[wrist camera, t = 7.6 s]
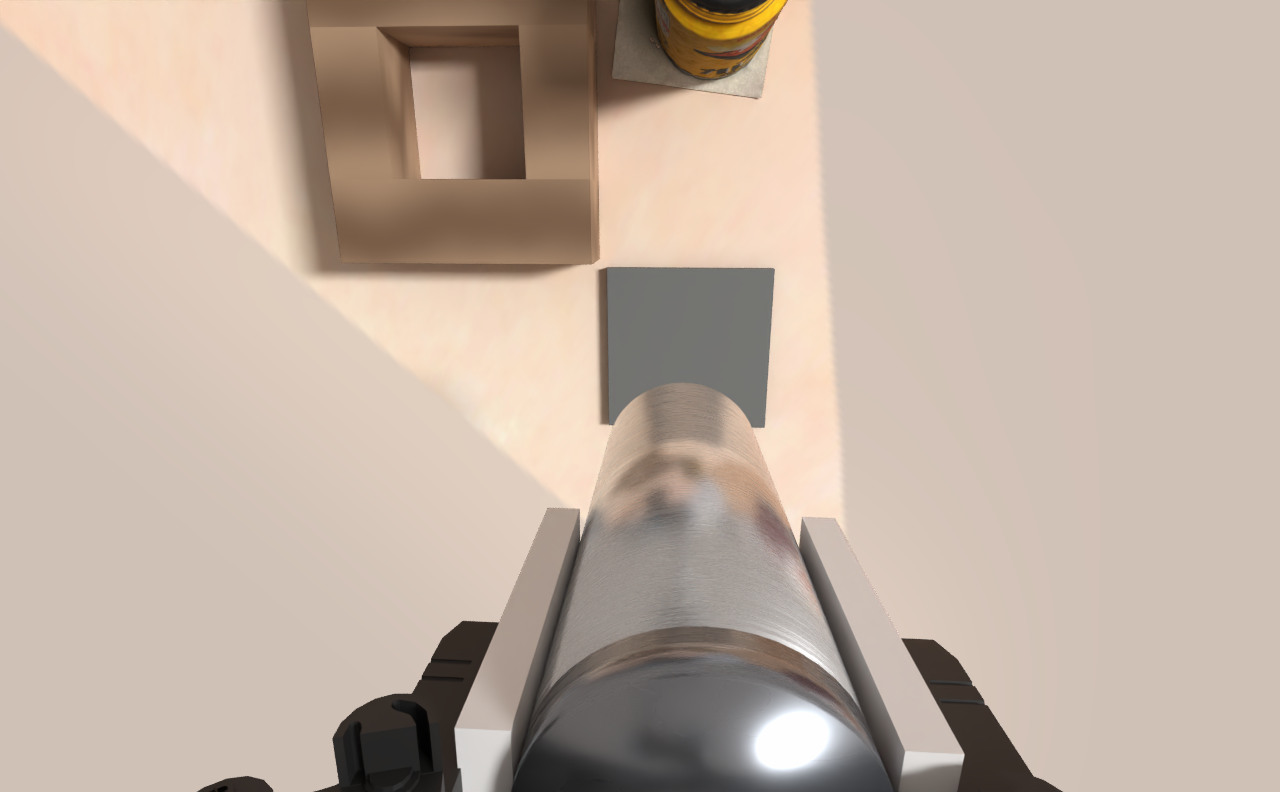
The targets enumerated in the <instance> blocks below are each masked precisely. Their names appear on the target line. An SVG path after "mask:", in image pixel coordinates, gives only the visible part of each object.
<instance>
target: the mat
mask: <svg viewBox="0 0 1280 792" xmlns="http://www.w3.org/2000/svg"><path fill="white" fill-rule="evenodd" d="M774 271H775V269H773V268H651V267H608V268H607V302H608V379H609V425H614V423H615V421H616V420H617V418H618V416H619V415H620V413H621V412H622V411H623V409H624V408H625V407H626V406H627V405H628V404H629V403H630V402H631V401H633V400H634V399H635V398H636V397H638V396H639V395H641V394H642V393H644V392H646V391H648V390H650V389H653V388H655V387H658V386H662V385H665V384H671V383H693V384H698V385H703V386H706V387H709V388H712V389H714V390H716V391H718V392H720V393H722V394H724V395H725V396H726V397H728V398H729V399H731V400H732V401H733V402H734V403H735V404H736V405H737V406H738V407H739V408H740V409H741V410H742V412H743V413H744V414H745V416H746V418H747V419H748V421H749V423H750V425H751V427H758V428H764V426H765V411H766V395H767V380H768V364H769V349H770V333H771V318H772V302H773V287H774Z"/></svg>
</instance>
